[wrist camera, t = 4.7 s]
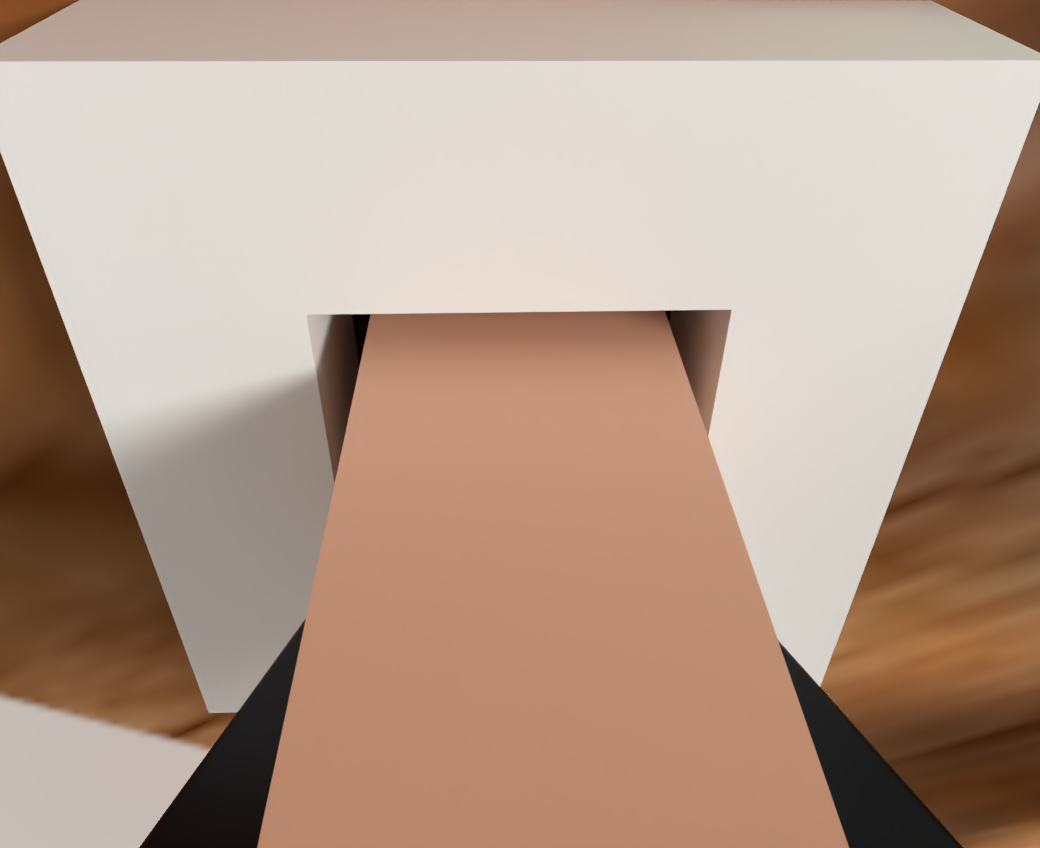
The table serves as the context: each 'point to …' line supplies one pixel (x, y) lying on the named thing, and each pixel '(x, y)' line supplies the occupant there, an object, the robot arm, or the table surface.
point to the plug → (537, 610)
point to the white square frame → (504, 246)
